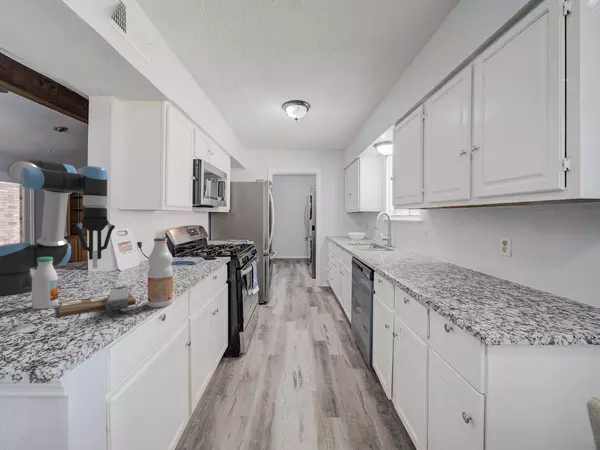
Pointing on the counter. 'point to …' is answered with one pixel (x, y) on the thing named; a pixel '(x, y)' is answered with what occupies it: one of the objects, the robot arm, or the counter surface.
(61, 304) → the label board
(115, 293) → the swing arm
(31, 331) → the counter surface
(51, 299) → the milk bottle
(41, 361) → the counter surface
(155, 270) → the fruit juice
